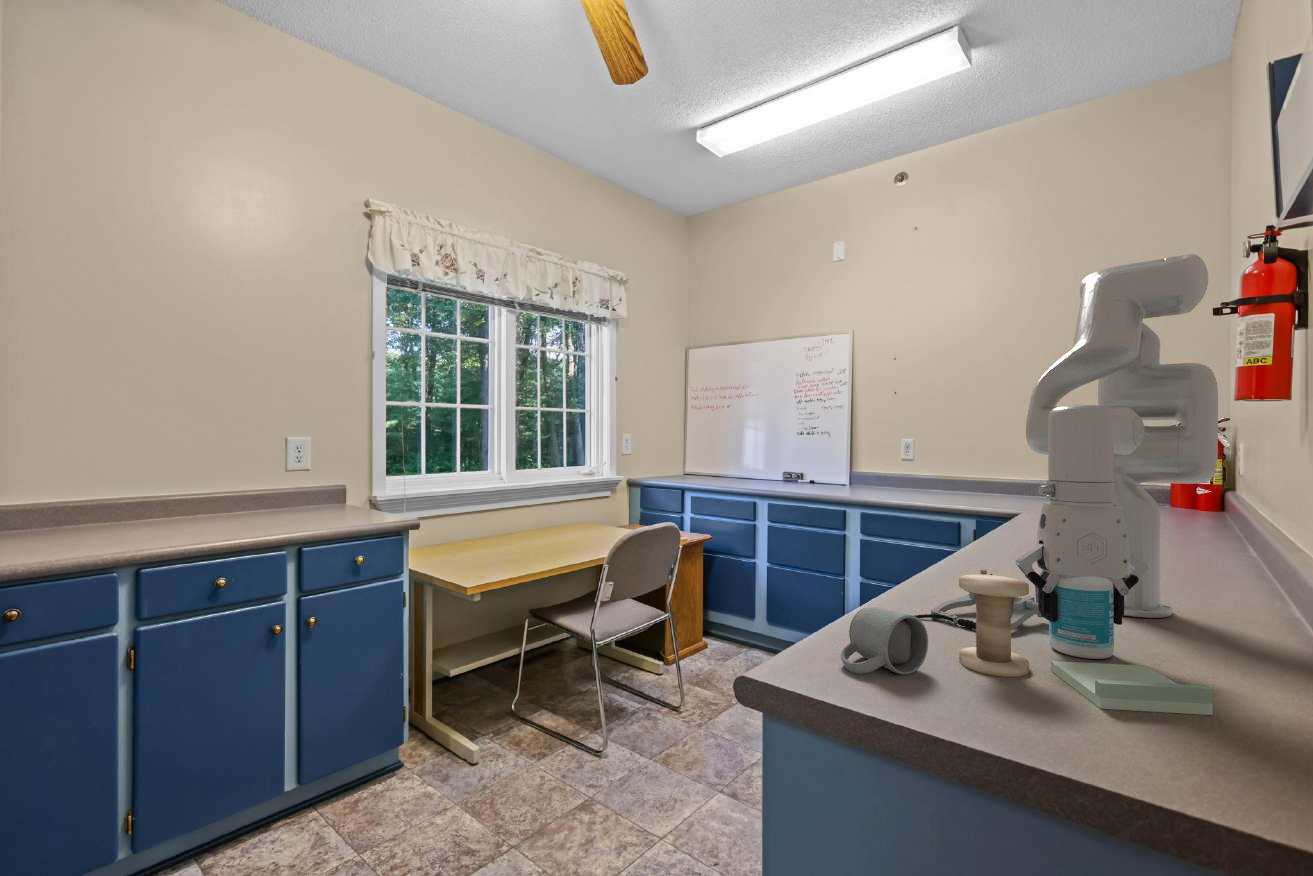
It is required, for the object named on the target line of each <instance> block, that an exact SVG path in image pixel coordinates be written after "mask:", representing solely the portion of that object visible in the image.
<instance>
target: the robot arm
mask: <svg viewBox="0 0 1313 876" xmlns="http://www.w3.org/2000/svg"><path fill="white" fill-rule="evenodd" d="M1207 268H1208V267H1207V265H1206V263H1205V261H1204V259H1203V258H1201V256H1199V255H1197V254H1192V253H1190V254H1182V255H1176V256H1170V257H1164V258H1160V259H1159V258H1158V259H1157V258H1156V259H1153V260H1146V261H1140V262H1134V263H1127V264H1126V263H1125V264H1122V265H1116V266H1111V267H1107V268H1103V269H1100V270H1097V271H1095V272H1092V273H1090V274H1088V275H1086V276H1085V277H1084V278H1083V279H1082V281H1081V283H1080V286H1079V297H1080V303H1079V308H1078V314H1077V320H1076V326H1075V332H1074V338H1073V345H1072V348H1071V350H1070V351H1068V352H1066V353H1065V354H1064V355H1063V356H1062V357H1060V358H1059V359H1057V361H1055V362H1054V363H1052V365H1051V366H1050V367H1049V368H1048V369H1047V370H1046V371H1045V372H1044V373H1043V374H1042V375H1041V376H1040V378H1039V379H1038V381H1036V383H1035V385H1034V387H1033V389H1032V392H1031V395H1030V399H1029V400H1030V401H1029V406H1028V411H1027V416H1026V421H1025V422H1026V423H1025V439H1026V442H1027V445H1028V446H1029V448H1030V449H1031V450H1032V451H1033V452H1035V453H1036V454H1039V455H1043V456H1047V457H1048V459H1047V461H1048V465H1047V470H1048V471H1047V472H1048V474H1047V475H1048V478H1047V480H1046V484H1043V485H1042V484H1041V485H1040V484H1039V486H1038V487H1037V492H1038V494H1039V495H1040V496H1041V495H1042V496H1043V495H1044V496H1046V499H1047V501H1044V502H1043V505H1042V507H1041V512H1040V517H1039V519H1038V528H1037V537H1036V538H1037V539H1036V546H1034V547H1032V548H1031V549H1030V550H1028V551H1027V552H1025V553H1024V554H1023V555H1021V556H1019V557H1018V558H1016V559H1015V565H1016V566H1017V567H1018V569H1019V570H1020V571H1021V572H1022V574H1023V575H1024V577H1025V578H1027V580H1029V582H1031V583H1032V584H1033V585H1034V588H1035V587H1036V588H1038V609H1039V612H1040V613H1041V615H1042V617H1043V618H1044V619H1046V620H1047V621H1048V622H1049V621H1050V622H1056V621H1057V594H1055V593H1053V589H1054V587H1055V586H1056V584H1057V583H1058V581H1059V579H1060V577H1066V578H1074V577H1083V576H1096V577H1103V578H1107V579H1112V581H1113V605H1114V607H1113V608H1114V625H1123V617H1124V616H1127V617H1134V618H1149V619H1150V618H1151V619H1158V618H1166V617H1170V616H1172V615H1173V607H1172V606H1171V605H1170V604H1168V603H1166V602H1163V601H1161V510H1160V507H1159V505H1158V504H1157V501H1156V500H1155V499H1154V498H1153V497H1152V495H1150V494H1149V493H1148V492H1147V491H1146V490H1145V489H1144V488H1143V487H1142V486H1141V484H1143V483H1158V484H1161V483H1162V484H1179V485H1180V484H1185V485H1186V484H1187V485H1191V484H1192V485H1193V484H1194V485H1195V484H1203V483H1206V482H1209V481H1210V480H1211V479H1212V478H1213V477H1214V476H1215V474H1216V471H1217V467H1218V456H1219V455H1218V454H1219V443H1218V442H1219V439H1218V438H1219V389H1218V383H1217V379H1216V378H1217V377H1216V376H1215V373H1214V372H1213V370H1212V369H1211V368H1210V367H1209V366H1208V365H1205V364H1203V363H1198V362H1181V363H1165V364H1164V363H1163V364H1161V363H1160V355H1161V354H1160V352H1161V340H1160V337H1159V336H1158V335H1157V333H1156V332H1154V331H1153V329H1152V328H1151V327H1150V326H1148V325H1147V324H1146V323H1144V322H1143V321H1144V319H1152V318H1161V317H1162V318H1163V317H1171V316H1177V315H1178V316H1179V315H1184V314H1188V313H1190V312H1192V311H1193V310H1194V309H1195V308H1196V307H1197V306H1198V304H1200V303H1201V302H1202V300H1203V299H1204V297H1205V295H1206V293H1207V289H1208V285H1209V284H1208V283H1209V273H1208V269H1207ZM1097 380H1098V381H1097ZM1095 381H1097V382H1098V386H1097V403H1098V404H1093V405H1092V404H1086V405H1085V404H1084V405H1083V404H1081V405H1080V404H1078V405H1075V404H1074V405H1062V406H1057V405H1058V403H1059V402H1060V401H1061V400H1062V398H1064V397H1065V396H1066V395H1068V394H1069V393H1071V392H1072V391H1074V390H1076V389H1078V388H1080V387H1083V386H1085V385H1088V384H1089V383H1093V382H1095ZM1144 421H1177V422H1178V423H1180V424H1181V425H1163V426H1162V425H1159V426H1158V425H1157V426H1156V425H1155V426H1153V425H1144ZM1035 563H1036V565H1037V567H1038V568H1039V569H1041V571H1040V573H1037V572H1036V571H1035V569H1034V568H1033V564H1035Z"/></svg>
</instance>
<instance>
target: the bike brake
mask: <svg viewBox="0 0 1313 876" xmlns="http://www.w3.org/2000/svg"><path fill="white" fill-rule="evenodd" d="M979 571H980V572H979V574H982V575H988V572H987V569H986V568H980V570H979ZM989 575H993V574H992V573H989ZM1034 590H1035V597H1034V596H1032V595H1026V596H1024V597H1023V598H1022V597H1021V596H1020V597H1011V631H1013V630H1015V629H1017V628H1018V627H1019V626H1020V625H1022V624H1023V623H1025V622H1026V621H1027V620H1028V619H1030V618H1032V617H1033V616H1035V615H1037V618H1042V619H1043V618H1044V617H1042V615H1041V613H1040V612H1039V609H1038V588H1036V587H1035V586H1034ZM964 591H965V592H967V593H969V594H966V595H963V596H962V597H961V596H960V597H957V598H954V599H950V600H947V601H945V602H941V603H940V604H938V605H937V606H934V608H932V609H931V610H930V614H929V613H926V614H925V613H924V614H917V615H914V614H913V616H915V617H917V618H918V619H927V618H928V619H935V620H937V621H941V622H944V623H948V624H950V625H954V626H955V625H959V626H960V627H964V628H965V629H969V630H972V629H973V630H976V621H975V622H974V620H969V619H964V618H958V615H955V614H952V613H949V612H948V611H951V610H954V609H958V608H963V607H971V606H974V605H976V593H973V592H969V591H966V590H964Z"/></svg>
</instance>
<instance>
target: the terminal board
mask: <svg viewBox="0 0 1313 876" xmlns="http://www.w3.org/2000/svg"><path fill="white" fill-rule="evenodd" d="M1050 671H1051V672H1052V673H1053V674H1054V675H1056V676H1057V677H1058V678H1060V679H1061V680H1062V681H1064V682H1065V683H1067V685H1069V686H1070V687H1072V689H1074V690H1075V691H1077V692H1078V693H1080V694H1081V695H1082V696H1083V697H1084V698H1086V699H1087V700H1089V701H1090V702H1091V703H1092V704H1094V706H1096V707H1097V708H1099V709H1101V710H1117V711H1118V710H1119V711H1120V710H1121V711H1132V712H1133V711H1134V712H1151V713H1152V712H1154V713H1168V714H1169V713H1172V714H1183V715H1184V714H1188V715H1204V716H1207V715H1208V716H1213V715H1214V714H1213V705H1214V703H1213V699H1214V698H1213V696H1214V695H1213V693H1214V691H1213V688H1211V687H1209V686H1208V685H1203V684H1186V683H1184V684H1182V683H1177V682H1175V681H1174V680H1171V679H1170V678H1168V677H1167V676H1165V675H1163V674H1161V673H1159V672H1158V671H1156V670H1154V669H1153V668H1151V667H1149V666H1147V665H1140V664H1139V665H1138V664H1123V663H1122V664H1121V663H1119V664H1118V663H1098V662H1097V663H1096V662H1076V661H1056V660H1054V661H1053V660H1050Z"/></svg>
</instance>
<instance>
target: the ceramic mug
mask: <svg viewBox="0 0 1313 876" xmlns="http://www.w3.org/2000/svg"><path fill="white" fill-rule="evenodd" d="M848 632H849V633H848V634H849V635H848V636H849V641H850V643H849V642H848V644H847V645H845V646H844V647H843V649H842V650H841V653H840V660H841V661H842V664H843V666H844V668H845V669H846V670H847V671H849V672H850V673H852V674H857V675H858V674H862V675H863V674H866V673H872V672H874V671H876V670H878V669H880V668H881V667H883V668H885V669H887V670H889V671H891V672H894V673H895V674H898V675H906V676H907V675H910V674H914V673H915V672H916V671H918V670H920V669H919V668H921V666H922V665H923V664H924V662H925V660H926V657H927V654H928V649H929V635H928V631H927V628H926V625H925V624H924V623H923V622H922V620H921V618H917V617H915V616H914V614H908V613H903V612H899V611H896V610H895V611H894V610H890V609H886V608H882V607H877V606H875V607H872V606H871V607H864V608H862V609H860V610H858V611H857V612H856V614H855V615H854V616H853V618H852V620H851V622H850V625H849V631H848ZM855 653H857V654H859V655H860V656H861V657H863V658H865V659H867V660H864V661H861V662H851V661H849V658H850V657H851V656H852V655H853V654H855Z"/></svg>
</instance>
